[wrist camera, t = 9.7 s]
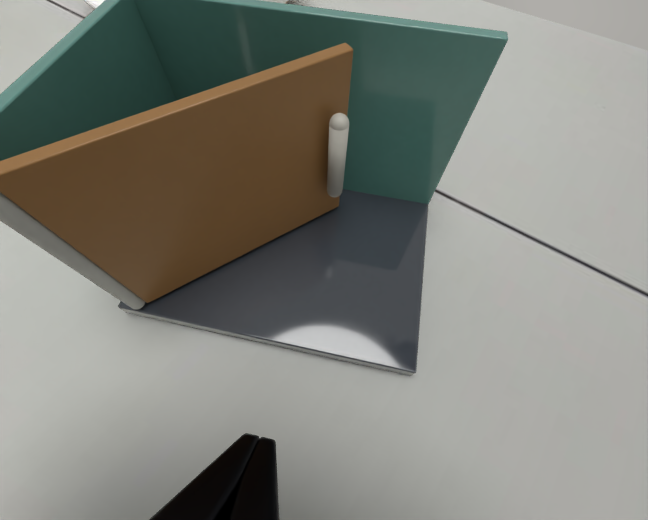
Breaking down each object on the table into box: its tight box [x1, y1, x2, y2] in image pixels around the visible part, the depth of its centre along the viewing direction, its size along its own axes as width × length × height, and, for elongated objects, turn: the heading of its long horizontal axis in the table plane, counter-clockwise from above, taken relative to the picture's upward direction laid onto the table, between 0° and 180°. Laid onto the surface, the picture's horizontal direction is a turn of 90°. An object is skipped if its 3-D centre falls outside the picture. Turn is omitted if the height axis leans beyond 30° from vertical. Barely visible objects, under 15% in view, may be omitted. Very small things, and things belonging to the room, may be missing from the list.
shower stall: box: [0, 0, 508, 376], centre depth 16 cm, size 12×17×12 cm
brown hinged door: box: [0, 43, 353, 309], centre depth 15 cm, size 2×14×10 cm, turn 123°
